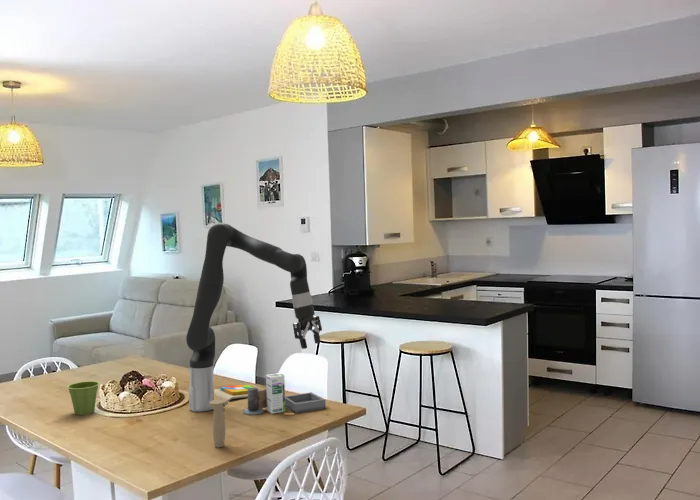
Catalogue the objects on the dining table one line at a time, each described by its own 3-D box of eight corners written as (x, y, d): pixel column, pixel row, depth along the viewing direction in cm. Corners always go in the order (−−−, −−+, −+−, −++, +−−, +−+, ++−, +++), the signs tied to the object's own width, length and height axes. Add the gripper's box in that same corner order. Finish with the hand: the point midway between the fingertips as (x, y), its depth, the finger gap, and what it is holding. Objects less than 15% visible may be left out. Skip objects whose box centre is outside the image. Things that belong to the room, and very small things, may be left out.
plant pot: (89, 406, 251) (88, 379, 250) (106, 411, 244) (105, 383, 244) (61, 414, 241) (60, 385, 241) (78, 419, 234) (77, 390, 234)
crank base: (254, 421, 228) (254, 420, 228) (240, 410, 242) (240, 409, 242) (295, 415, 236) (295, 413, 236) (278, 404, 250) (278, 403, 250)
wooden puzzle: (267, 395, 267) (267, 387, 267) (228, 403, 256) (227, 394, 255) (249, 387, 281) (248, 380, 281) (210, 394, 269) (210, 386, 269)
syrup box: (271, 414, 237) (271, 377, 237) (266, 410, 243) (265, 374, 242) (285, 412, 240) (284, 375, 240) (280, 408, 245) (279, 372, 245)
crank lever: (250, 411, 238) (250, 391, 238) (246, 408, 241) (246, 388, 241) (283, 405, 246) (283, 385, 246) (279, 403, 249) (279, 383, 249)
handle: (207, 447, 201) (206, 402, 201) (221, 442, 207) (220, 397, 206) (217, 450, 199) (216, 404, 198) (231, 444, 204) (230, 400, 203)
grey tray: (295, 413, 238) (295, 404, 238) (282, 405, 250) (282, 396, 249) (325, 408, 244) (325, 399, 244) (311, 400, 256) (311, 392, 256)
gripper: (306, 302, 245) (314, 342, 245) (284, 309, 234) (292, 351, 233) (321, 300, 241) (329, 340, 241) (299, 307, 229) (307, 349, 229)
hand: (311, 345), depth 237 cm, fingers open, 8 cm apart
